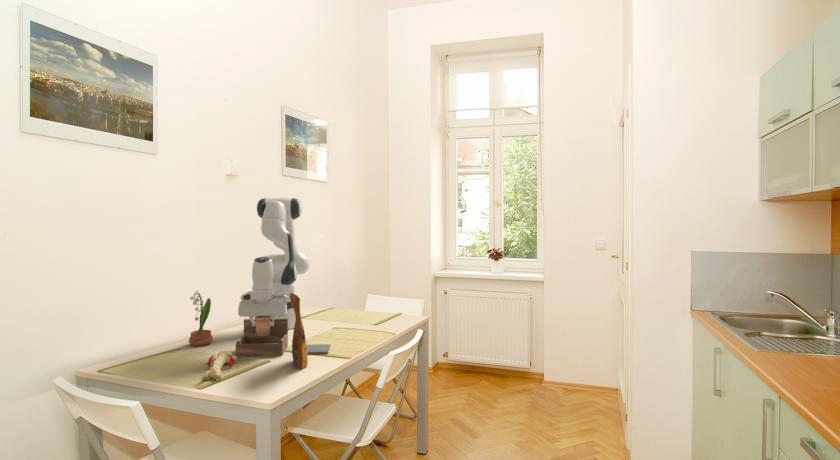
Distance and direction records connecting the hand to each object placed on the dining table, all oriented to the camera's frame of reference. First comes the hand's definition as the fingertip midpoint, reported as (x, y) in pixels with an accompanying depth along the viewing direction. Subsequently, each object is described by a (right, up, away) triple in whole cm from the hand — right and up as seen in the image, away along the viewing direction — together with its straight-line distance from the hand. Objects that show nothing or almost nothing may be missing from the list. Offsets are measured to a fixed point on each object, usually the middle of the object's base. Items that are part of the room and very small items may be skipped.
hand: (263, 326), depth 204 cm
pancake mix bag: (+20, -12, -17) cm, 29 cm away
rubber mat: (+23, -11, +2) cm, 25 cm away
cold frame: (0, -11, 0) cm, 11 cm away
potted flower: (-32, -11, +10) cm, 36 cm away
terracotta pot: (0, -4, 0) cm, 4 cm away
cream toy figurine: (-8, -12, -26) cm, 29 cm away
